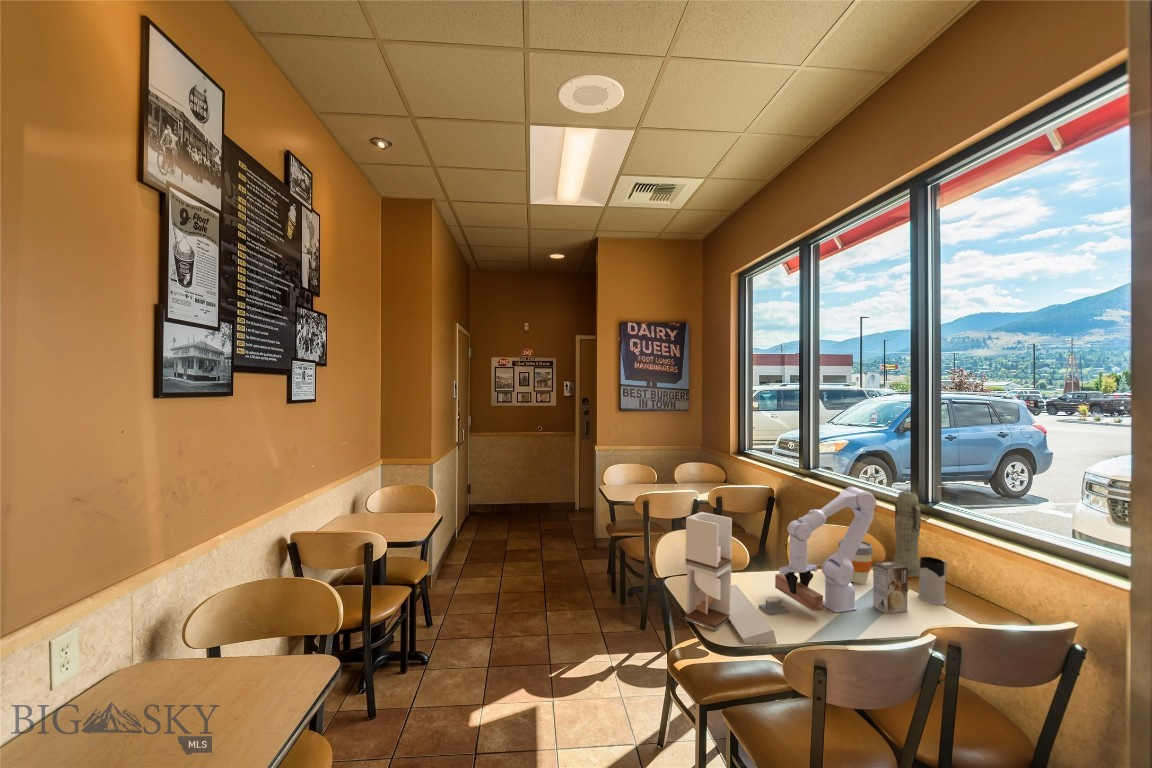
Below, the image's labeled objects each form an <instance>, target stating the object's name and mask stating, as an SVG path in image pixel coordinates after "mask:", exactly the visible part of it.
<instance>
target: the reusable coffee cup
mask: <svg viewBox="0 0 1152 768" xmlns="http://www.w3.org/2000/svg"><path fill="white" fill-rule="evenodd" d="M842 540H843V539H839V540H838V548H839V546H840V544H841V542H842ZM838 548H837V549H838ZM873 554H874V552H873V545H872V544H871V543H869V542H866V541H864V540H862V542H861V544H860V546H859V548H858V550H857V552H856V554H855V556H854V558H853V560H852V565H853V568H854V571H853V573H852V580H851V582H854V583H853V584H856V583H865V584H867V583H868V578H869V572H871V569H872V561H873V559H872V555H873ZM851 582H850V583H851ZM866 582H867V583H866Z"/></svg>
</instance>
